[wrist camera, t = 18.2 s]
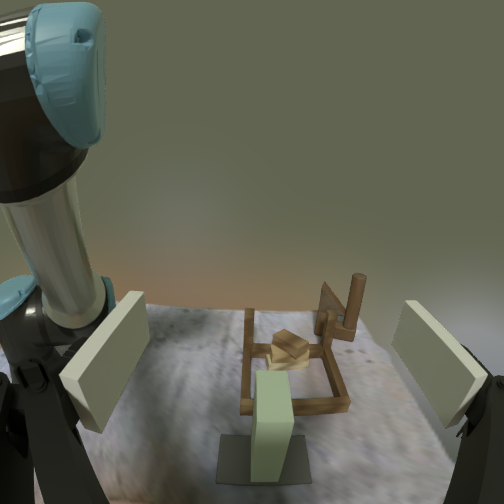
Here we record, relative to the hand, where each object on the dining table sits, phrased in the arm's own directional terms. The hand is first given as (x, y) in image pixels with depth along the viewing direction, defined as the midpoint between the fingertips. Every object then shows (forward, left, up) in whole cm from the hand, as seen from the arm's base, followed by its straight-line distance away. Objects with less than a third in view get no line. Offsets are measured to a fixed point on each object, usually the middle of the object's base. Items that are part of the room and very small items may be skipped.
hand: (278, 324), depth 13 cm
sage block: (+2, +13, -34) cm, 36 cm away
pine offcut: (+8, +38, -34) cm, 52 cm away
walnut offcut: (+8, +38, -29) cm, 49 cm away
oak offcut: (+8, +38, -32) cm, 50 cm away
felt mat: (+2, +13, -34) cm, 36 cm away
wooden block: (+22, +51, -34) cm, 65 cm away
